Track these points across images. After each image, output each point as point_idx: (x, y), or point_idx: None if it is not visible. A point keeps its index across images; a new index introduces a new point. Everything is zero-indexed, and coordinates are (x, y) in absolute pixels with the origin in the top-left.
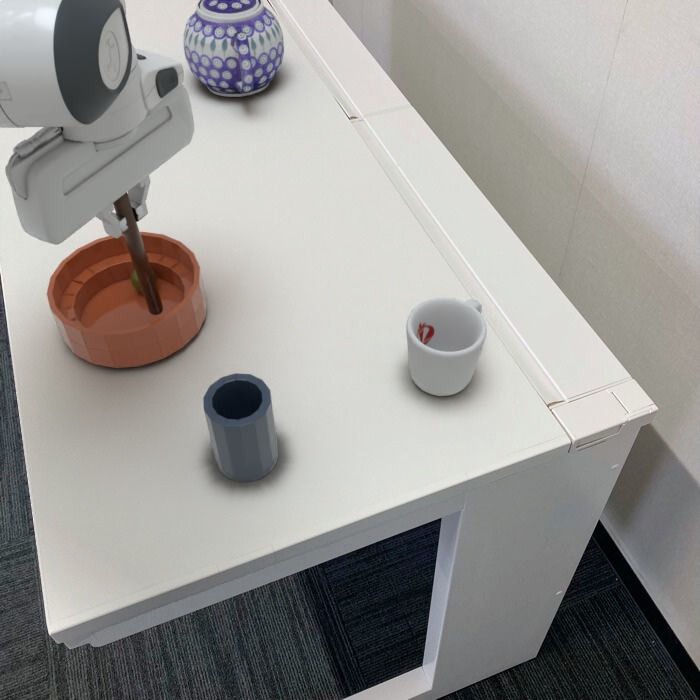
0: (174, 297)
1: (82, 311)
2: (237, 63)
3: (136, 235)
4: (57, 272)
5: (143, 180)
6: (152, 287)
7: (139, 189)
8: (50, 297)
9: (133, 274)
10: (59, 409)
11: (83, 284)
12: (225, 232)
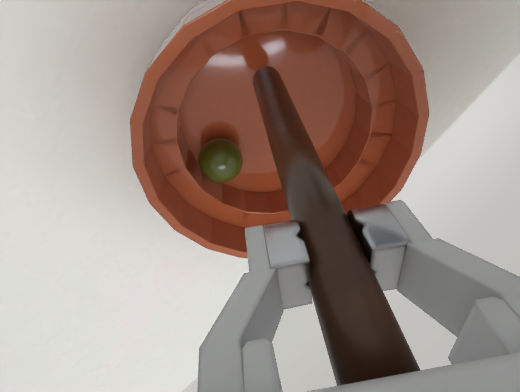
0: (201, 100)
1: None
2: None
3: (317, 184)
4: None
5: (244, 375)
6: (279, 92)
7: (256, 330)
8: None
9: (235, 174)
10: (467, 55)
11: None
12: (25, 163)
